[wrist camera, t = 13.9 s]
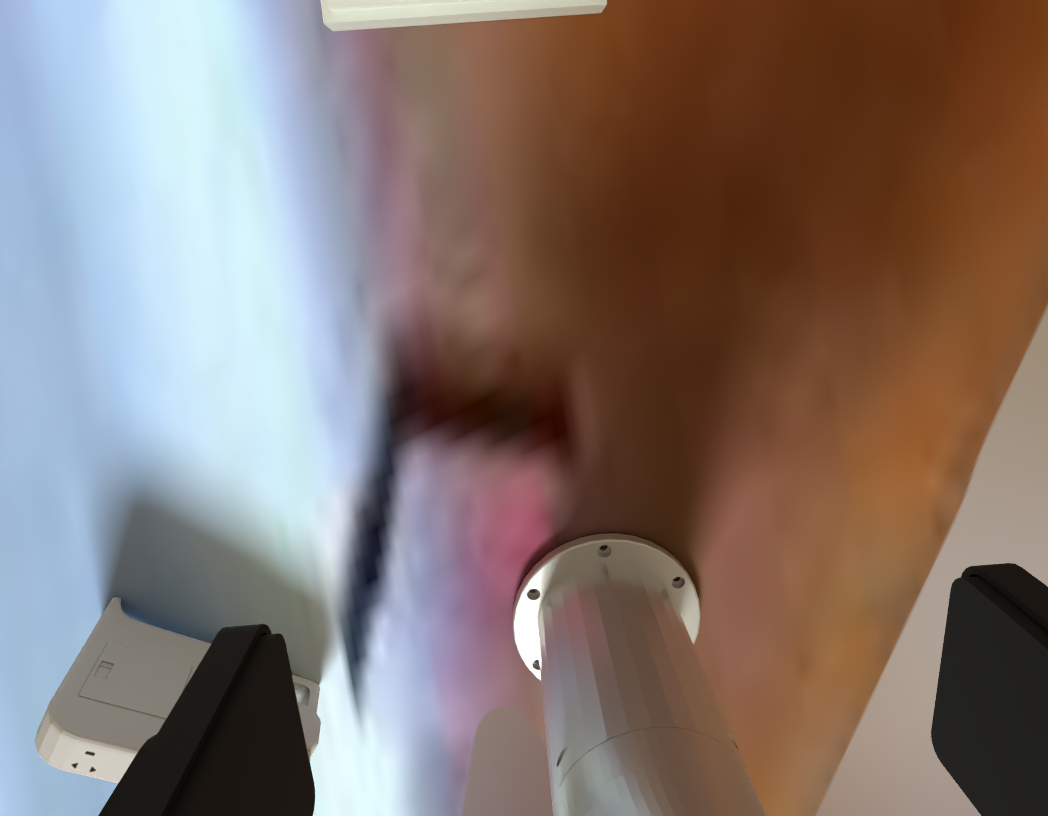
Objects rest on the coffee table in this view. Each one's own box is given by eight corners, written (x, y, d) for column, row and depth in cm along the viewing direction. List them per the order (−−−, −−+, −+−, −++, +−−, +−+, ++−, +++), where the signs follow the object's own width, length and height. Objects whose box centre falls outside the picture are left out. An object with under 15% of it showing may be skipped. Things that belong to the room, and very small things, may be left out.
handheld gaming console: (314, 689, 52) (100, 625, 47) (330, 660, 51) (114, 593, 47) (293, 828, 42) (17, 765, 37) (313, 795, 41) (34, 726, 36)
